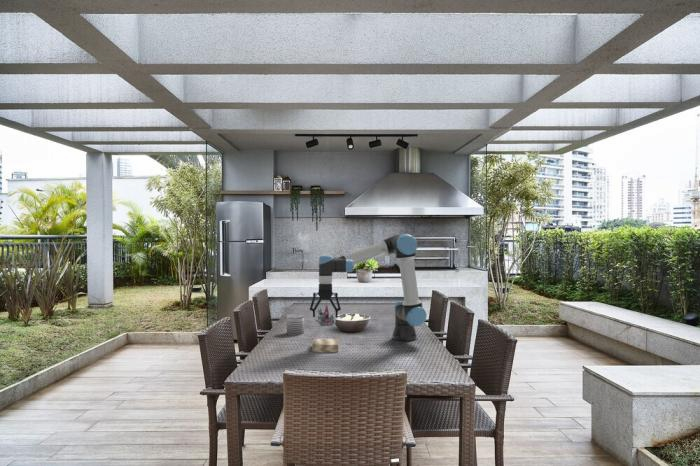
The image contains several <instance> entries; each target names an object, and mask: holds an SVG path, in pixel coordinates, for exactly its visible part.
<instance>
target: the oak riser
mask: <svg viewBox="0 0 700 466" xmlns="http://www.w3.org/2000/svg"><path fill="white" fill-rule="evenodd" d="M311 352H312V353H339V340H338V338H313V339H312V351H311Z"/></svg>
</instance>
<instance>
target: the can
mask: <svg viewBox="0 0 700 466" xmlns="http://www.w3.org/2000/svg"><path fill="white" fill-rule="evenodd" d="M286 334H288V335H287V336H303V335H305V314H303V313H294V314H288V315H287V316H286ZM302 334H303V335H302Z"/></svg>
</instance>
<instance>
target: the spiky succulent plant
mask: <svg viewBox="0 0 700 466" xmlns="http://www.w3.org/2000/svg"><path fill="white" fill-rule="evenodd" d="M316 313H317V319H316V323H318V324H319V325H320V327H332V326H333V325H334V324H335V323H334V314H331V315H330V312H329V308H328V304H327V305H325V309H324V311H323V310H322V308H318V310H316Z"/></svg>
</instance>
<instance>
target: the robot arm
mask: <svg viewBox="0 0 700 466" xmlns="http://www.w3.org/2000/svg"><path fill="white" fill-rule="evenodd" d="M417 249H418V242H417V239H416V238H415V237H414V236H413V235H412V234H411V235H410V234H408V233H405V234H404V233H403V234H394V235H391V236H389V237H387V238H384V239H381V241H380V242H378V243H375V244H372V245H370V246H367V247H364V248H360V249H359V250H355V251H352V252H349V253H347V254H344V255H340V256H338V257H333V256H332V255H319V257H318V292H313V293H312V300H311V303H310V308H309V311H311V312H312V317H313V318H314V324H317V321H316V320H317V308H318V306H319V305H320V303H321V302H322V301H329V302H330V304H331V305H332V307H333V309H334V311H333V316H334V324H336V318H338V314H339V313H338V312H339V311H341V310H342V309H341V305H340V302H339V297H338V292H333V273H352V272H353V271H354V266H355V265H358V264H361V263H364V262H367V261H369V260H372V259H373V260H374V259H376V258H379V257H382V256H384V255H385V256H389V255H394V254H395V259H396V260H398V262H399V270H400V277H401V285H402V293H403V300H402V301H401V300H400V301H396V302H395V304H394V328H393V330H392V335H391V338H392V339H393V340H395V341H401V342H403V341H404V342H409V341H416V340H417V339H418V335H417V332H416V327H420V326H422V325H423V324H424V323H425V321H426V320H427V311H426V310H425V309H424V308H423V302H422V300H421V299H420V297H419V291H418V283H417V276H416V268H415V261H414V259H415V258H416V250H417ZM317 296H318V297H319V298H318V301H317V302H316V304H315V300H316V297H317ZM332 297H335V300H336V304H337V306H336V305H335V303H334V301H333V299H332ZM314 304H315V305H314Z"/></svg>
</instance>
